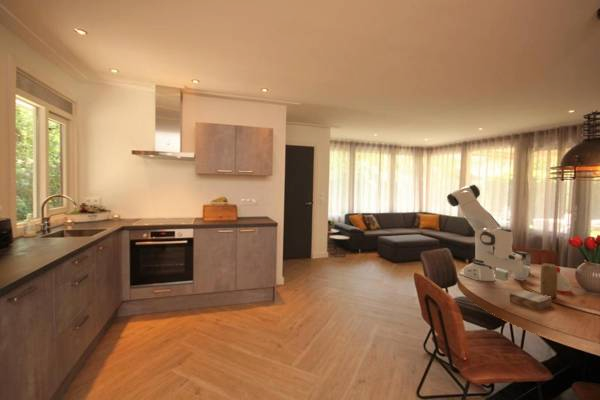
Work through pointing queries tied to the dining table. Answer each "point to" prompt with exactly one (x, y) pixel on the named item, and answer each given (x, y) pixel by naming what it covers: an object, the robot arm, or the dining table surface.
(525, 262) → the coffee box
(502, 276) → the sage cube
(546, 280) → the block
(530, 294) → the walnut base block
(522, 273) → the teacup
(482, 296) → the dining table surface
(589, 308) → the dining table surface
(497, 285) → the dining table surface
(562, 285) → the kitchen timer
